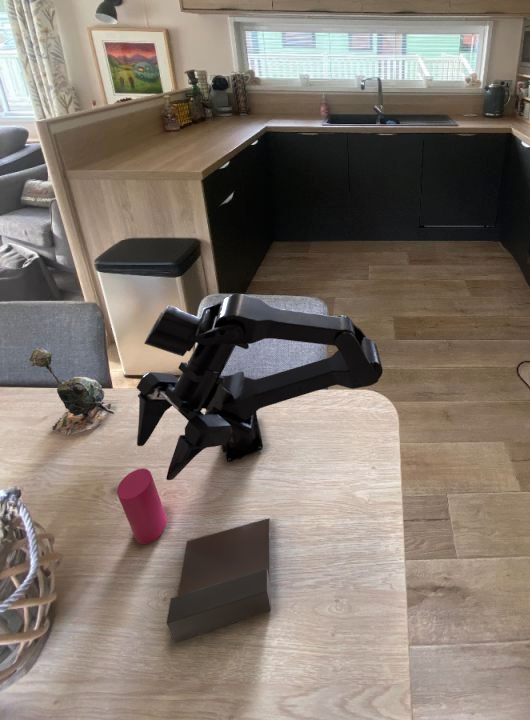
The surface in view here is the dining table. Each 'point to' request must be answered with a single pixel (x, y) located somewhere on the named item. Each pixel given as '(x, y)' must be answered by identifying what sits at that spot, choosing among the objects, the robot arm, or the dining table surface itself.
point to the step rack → (222, 580)
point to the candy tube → (142, 505)
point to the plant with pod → (76, 399)
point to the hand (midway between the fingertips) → (154, 461)
